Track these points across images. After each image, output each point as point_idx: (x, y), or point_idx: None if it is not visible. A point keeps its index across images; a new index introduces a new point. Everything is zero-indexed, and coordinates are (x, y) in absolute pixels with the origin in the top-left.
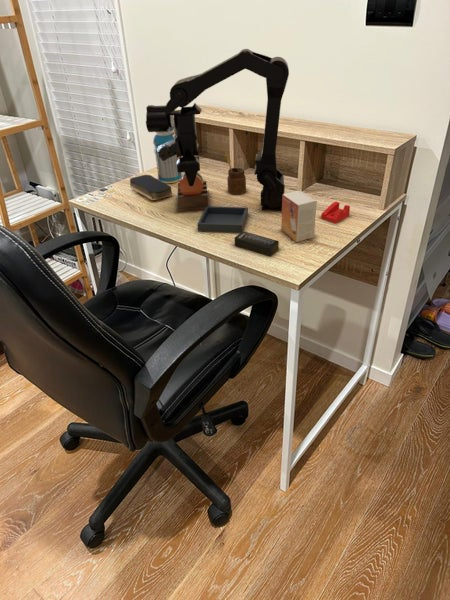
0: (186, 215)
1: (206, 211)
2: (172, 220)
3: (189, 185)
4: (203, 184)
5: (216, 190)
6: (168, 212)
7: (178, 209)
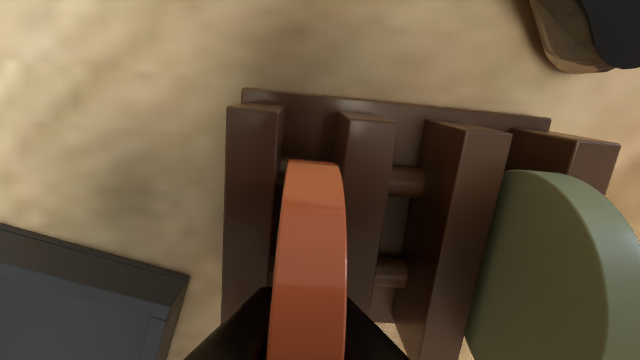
0: (188, 149)
1: (98, 298)
2: (119, 41)
3: (256, 291)
4: None
5: None
6: (267, 19)
7: (243, 101)
